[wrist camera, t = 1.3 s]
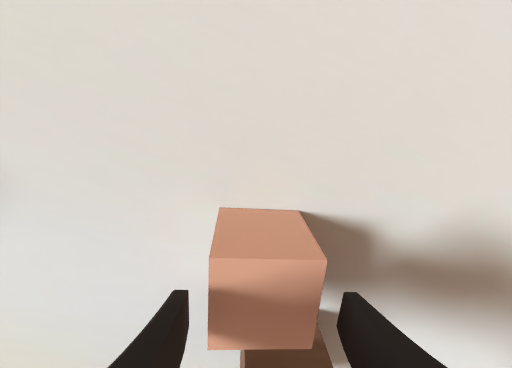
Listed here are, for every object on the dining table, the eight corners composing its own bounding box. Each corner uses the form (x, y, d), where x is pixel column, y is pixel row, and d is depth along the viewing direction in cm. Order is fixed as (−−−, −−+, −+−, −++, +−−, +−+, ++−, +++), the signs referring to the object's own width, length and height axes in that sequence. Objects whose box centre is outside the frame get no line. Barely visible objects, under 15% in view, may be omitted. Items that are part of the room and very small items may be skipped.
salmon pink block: (290, 276, 17) (311, 349, 12) (217, 275, 17) (207, 349, 12) (298, 210, 16) (327, 260, 11) (219, 207, 15) (208, 258, 10)
